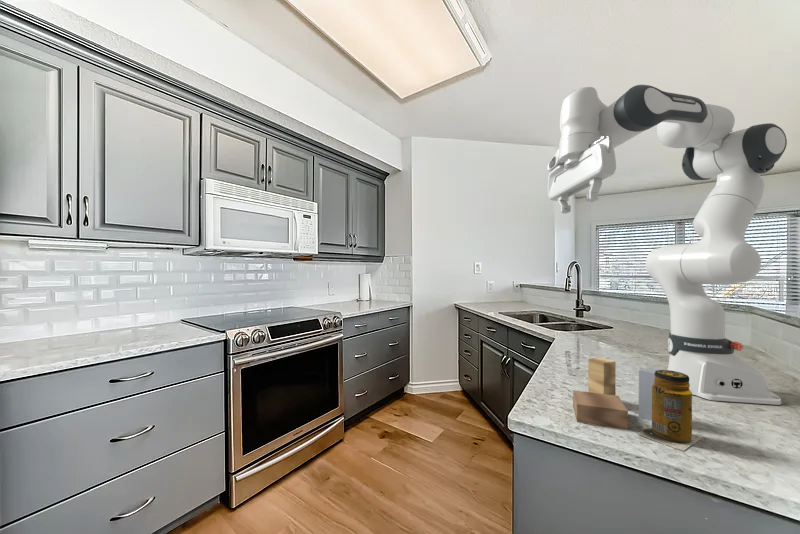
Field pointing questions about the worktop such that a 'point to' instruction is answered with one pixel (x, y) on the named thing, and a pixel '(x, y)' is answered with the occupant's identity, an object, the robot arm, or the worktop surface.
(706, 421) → the worktop surface
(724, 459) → the worktop surface
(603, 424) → the walnut plinth
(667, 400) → the condiment
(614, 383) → the oak pillar
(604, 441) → the worktop surface
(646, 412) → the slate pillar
